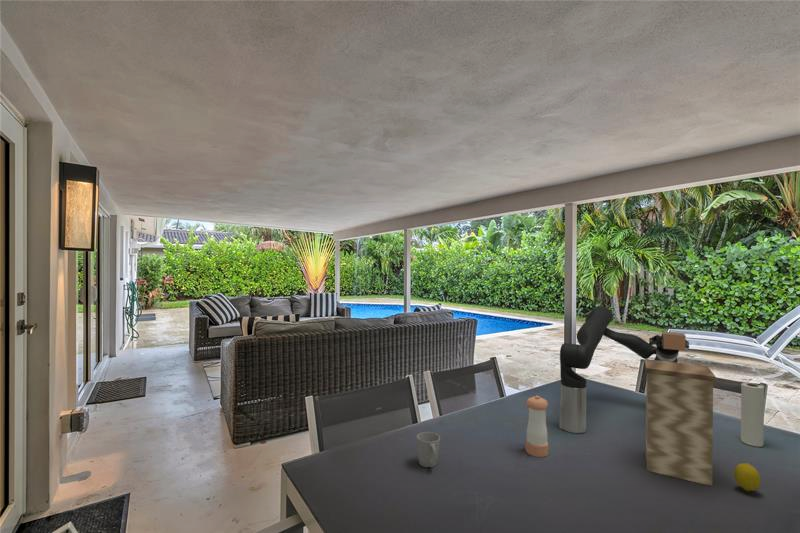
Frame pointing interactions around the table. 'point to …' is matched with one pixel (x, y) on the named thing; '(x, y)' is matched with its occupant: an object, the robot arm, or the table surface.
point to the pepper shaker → (537, 427)
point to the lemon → (747, 477)
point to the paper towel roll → (752, 414)
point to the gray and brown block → (674, 341)
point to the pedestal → (679, 420)
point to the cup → (428, 448)
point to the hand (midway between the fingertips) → (670, 334)
